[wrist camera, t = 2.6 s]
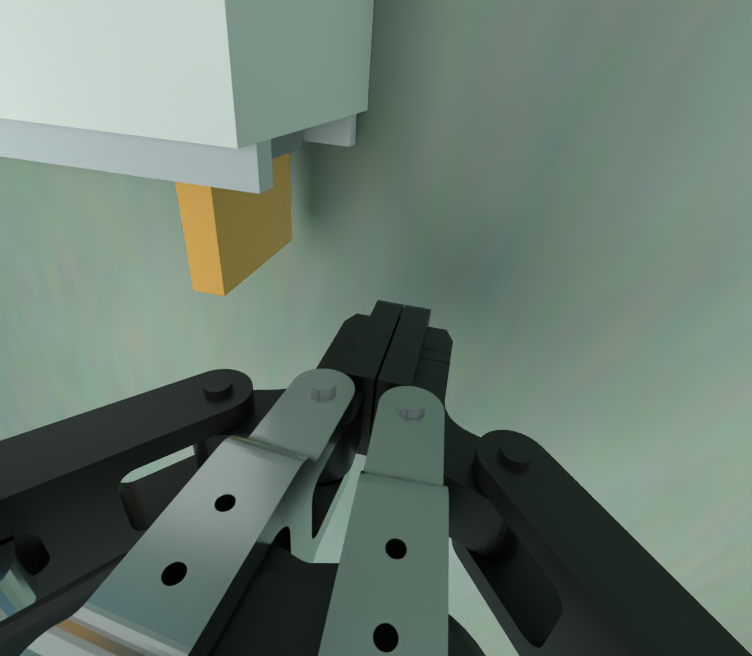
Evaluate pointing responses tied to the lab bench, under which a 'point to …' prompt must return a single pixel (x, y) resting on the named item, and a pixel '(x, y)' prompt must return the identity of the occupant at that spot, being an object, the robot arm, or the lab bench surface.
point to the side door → (236, 224)
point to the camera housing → (180, 83)
